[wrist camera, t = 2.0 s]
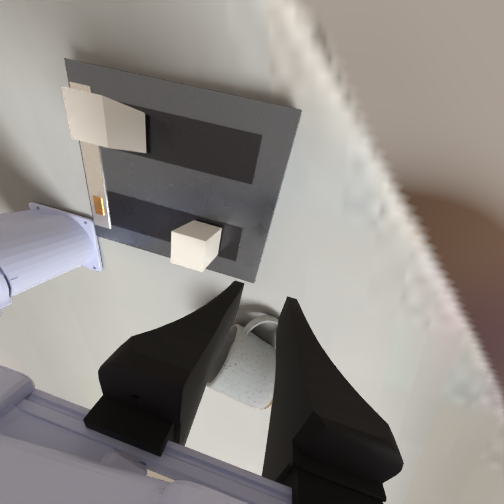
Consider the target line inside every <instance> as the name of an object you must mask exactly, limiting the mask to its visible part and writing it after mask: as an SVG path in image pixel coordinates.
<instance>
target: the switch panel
mask: <svg viewBox="0 0 504 504" xmlns="http://www.w3.org/2000/svg"><path fill="white" fill-rule="evenodd" d="M64 59H65V65H66V71H67V76H68V82H69V87H70V88H72V89H77V90H81V91H85V92H90V93H94V94H98V95H102V96H105V97H107V98H110V99H112V100H115V101H117V102H119V103H122V104H124V105H127V106H129V107H132V108H134V109H136V110H139V111H141V112H144V113H145V128H146V153H142V152H134V151H127V150H119V149H112V148H106V147H102V146H98V145H95V144H91V143H87V142H83V141H79V143H80V149H81V155H82V160H83V166H84V171H85V177H86V183H87V188H88V194H89V199H90V205H91V211H92V216H93V222H94V227H95V233H96V236H99V237H103V238H106V239H109V240H112V241H116V242H119V243H122V244H126V245H129V246H132V247H136V248H139V249H142V250H146V251H149V252H152V253H156V254H159V255H162V256H165V257H169V258H171V231H173V230H175V229H177V228H179V227H181V226H183V225H185V224H187V223H189V222H191V221H193V220H195V221H199V222H202V223H206V224H209V225H213V226H216V227H220V228H222V231H221V238H220V244H219V251H218V255H217V256H216V257H215V258H214V259H213V261H212V262H211V263H210V264H209V265H208V266H207V267H206V269H209V270H212V271H215V272H218V273H222V274H225V275H228V276H232V277H235V278H238V279H242V280H245V281H248V282H252V283H254V281H255V278H256V275H257V272H258V268H259V265H260V261H261V257H262V254H263V250H264V247H265V243H266V239H267V236H268V232H269V229H270V225H271V221H272V218H273V214H274V211H275V207H276V203H277V200H278V196H279V193H280V189H281V185H282V182H283V178H284V175H285V171H286V167H287V164H288V160H289V157H290V153H291V149H292V146H293V142H294V139H295V135H296V131H297V128H298V124H299V121H300V117H301V112H302V110H300V109H295V108H290V107H286V106H281V105H277V104H272V103H268V102H263V101H258V100H254V99H249V98H245V97H240V96H235V95H231V94H226V93H222V92H217V91H213V90H208V89H203V88H199V87H194V86H190V85H185V84H180V83H176V82H171V81H167V80H162V79H158V78H153V77H148V76H144V75H139V74H135V73H130V72H125V71H121V70H116V69H112V68H107V67H102V66H98V65H93V64H89V63H84V62H80V61H75V60H70V59H66V58H64Z"/></svg>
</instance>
